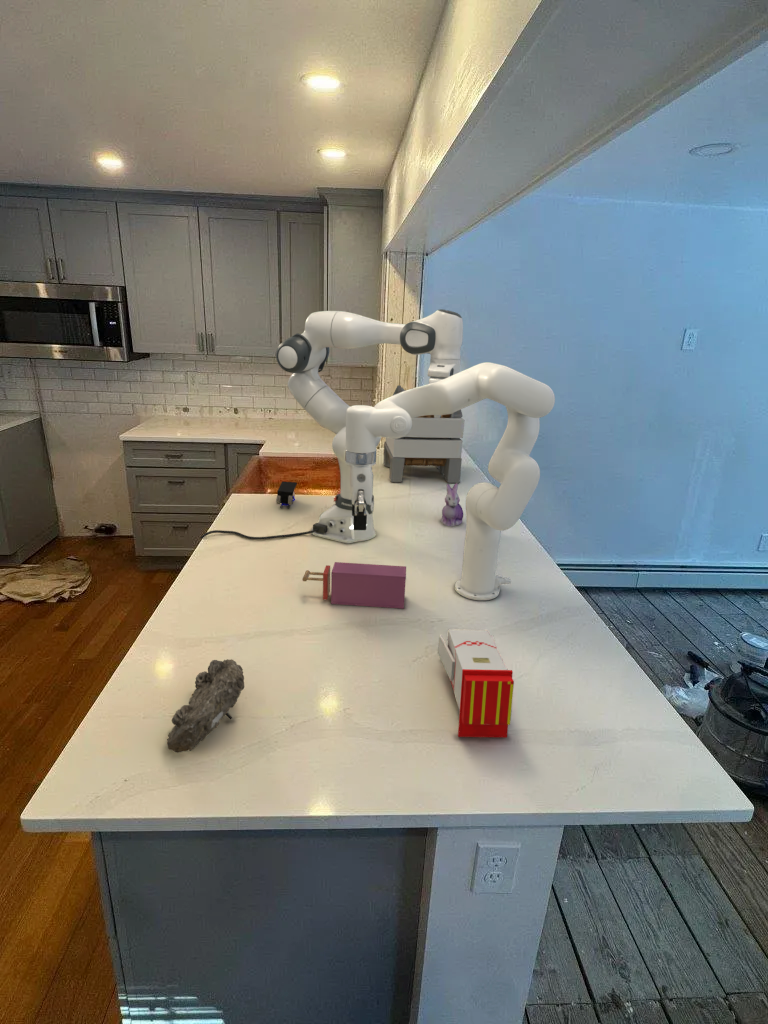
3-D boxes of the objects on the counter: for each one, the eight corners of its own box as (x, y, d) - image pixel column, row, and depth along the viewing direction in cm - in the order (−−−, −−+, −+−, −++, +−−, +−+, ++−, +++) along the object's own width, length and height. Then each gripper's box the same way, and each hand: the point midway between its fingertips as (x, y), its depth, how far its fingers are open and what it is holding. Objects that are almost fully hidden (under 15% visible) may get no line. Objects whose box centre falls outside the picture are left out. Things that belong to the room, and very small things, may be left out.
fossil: (192, 660, 117) (244, 628, 112) (224, 691, 120) (276, 661, 115) (142, 746, 98) (202, 712, 93) (182, 779, 101) (242, 748, 96)
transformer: (382, 463, 289) (386, 382, 275) (445, 464, 293) (451, 384, 279) (390, 482, 257) (394, 392, 243) (460, 483, 261) (468, 394, 247)
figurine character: (293, 513, 218) (297, 497, 231) (292, 495, 215) (297, 480, 228) (275, 513, 218) (281, 496, 231) (274, 495, 214) (280, 479, 228)
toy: (488, 613, 130) (523, 677, 101) (484, 667, 133) (517, 744, 104) (435, 612, 130) (455, 676, 101) (432, 666, 133) (451, 743, 103)
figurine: (448, 528, 206) (452, 489, 201) (433, 519, 215) (436, 481, 210) (470, 525, 210) (473, 486, 205) (454, 516, 219) (457, 479, 214)
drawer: (302, 598, 152) (302, 572, 149) (305, 589, 156) (305, 563, 154) (391, 604, 151) (393, 577, 148) (392, 594, 155) (393, 569, 153)
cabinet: (331, 604, 151) (331, 572, 148) (334, 592, 157) (334, 561, 154) (403, 608, 150) (405, 576, 147) (404, 597, 156) (406, 566, 153)
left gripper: (441, 364, 177) (437, 409, 182) (426, 370, 158) (422, 419, 163) (461, 366, 175) (457, 411, 180) (448, 372, 157) (444, 422, 161)
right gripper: (378, 466, 130) (376, 535, 136) (373, 448, 147) (371, 511, 152) (346, 466, 130) (344, 535, 135) (344, 448, 146) (343, 510, 152)
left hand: (440, 415), depth 171 cm, fingers open, 8 cm apart
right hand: (358, 522), depth 144 cm, fingers open, 9 cm apart
